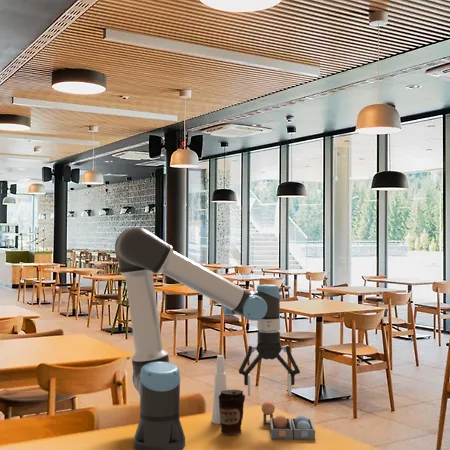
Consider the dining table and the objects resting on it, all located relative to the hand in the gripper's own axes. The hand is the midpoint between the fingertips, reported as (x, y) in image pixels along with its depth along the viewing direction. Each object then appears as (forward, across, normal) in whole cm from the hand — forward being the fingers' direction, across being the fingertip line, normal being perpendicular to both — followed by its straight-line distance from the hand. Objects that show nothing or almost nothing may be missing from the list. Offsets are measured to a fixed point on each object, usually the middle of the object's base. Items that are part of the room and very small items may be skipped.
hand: (269, 395), depth 204 cm
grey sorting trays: (+9, +6, -11) cm, 16 cm away
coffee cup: (+9, -12, -11) cm, 19 cm away
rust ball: (+7, +3, -8) cm, 11 cm away
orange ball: (+4, 0, 0) cm, 4 cm away
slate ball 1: (+7, +10, -8) cm, 14 cm away
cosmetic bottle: (+9, -16, +1) cm, 19 cm away
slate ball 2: (+7, +10, -14) cm, 18 cm away
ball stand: (+9, 0, 0) cm, 9 cm away
